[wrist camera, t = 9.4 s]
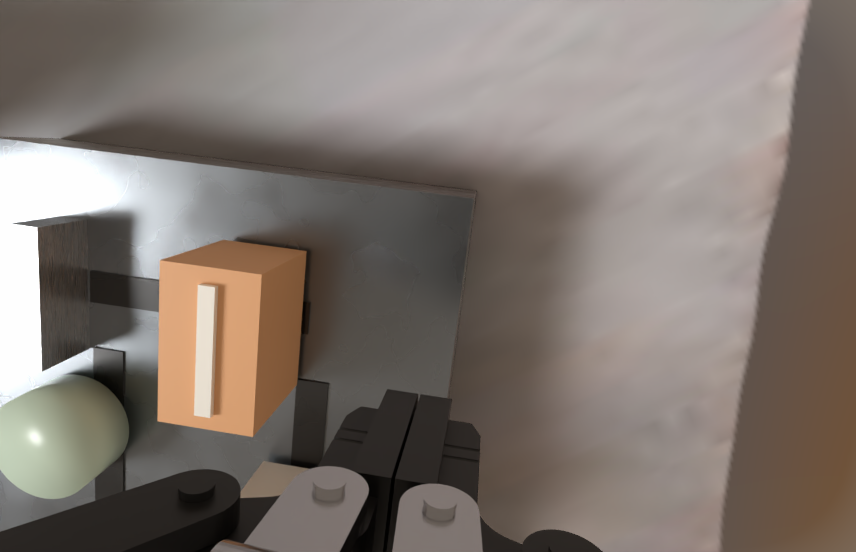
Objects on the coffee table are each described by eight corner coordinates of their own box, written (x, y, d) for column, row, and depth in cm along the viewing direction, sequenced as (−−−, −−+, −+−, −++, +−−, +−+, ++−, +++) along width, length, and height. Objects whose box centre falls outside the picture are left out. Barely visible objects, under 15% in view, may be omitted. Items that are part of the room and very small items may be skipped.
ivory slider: (259, 534, 22) (201, 628, 18) (263, 460, 22) (204, 540, 17) (338, 548, 22) (300, 647, 18) (345, 474, 22) (306, 558, 17)
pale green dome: (34, 460, 23) (-8, 488, 21) (30, 367, 22) (-14, 388, 20) (129, 477, 23) (94, 507, 21) (129, 383, 22) (93, 405, 20)
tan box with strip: (218, 372, 21) (153, 424, 17) (223, 239, 20) (155, 261, 16) (296, 384, 21) (250, 440, 17) (306, 250, 20) (259, 276, 16)
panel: (71, 641, 30) (-38, 768, 24) (58, 138, 25) (-89, 133, 18) (407, 708, 29) (384, 862, 23) (476, 190, 23) (471, 204, 17)
